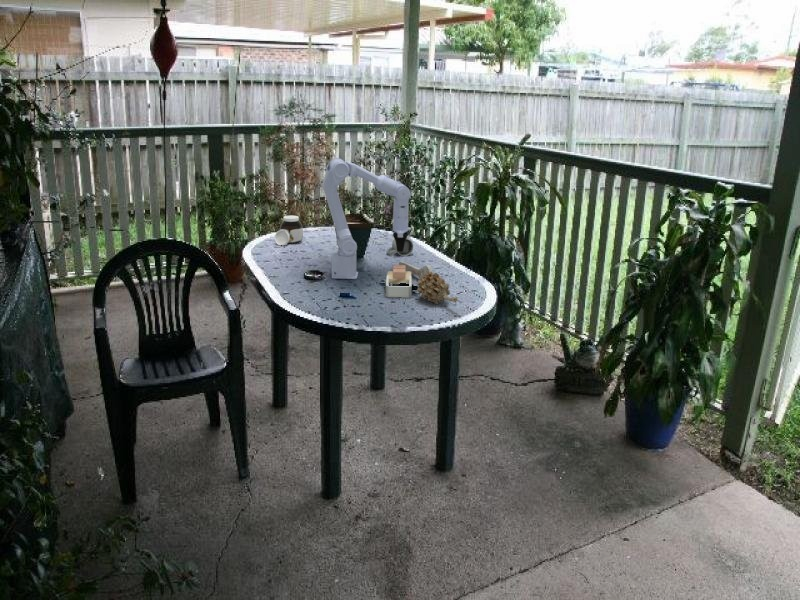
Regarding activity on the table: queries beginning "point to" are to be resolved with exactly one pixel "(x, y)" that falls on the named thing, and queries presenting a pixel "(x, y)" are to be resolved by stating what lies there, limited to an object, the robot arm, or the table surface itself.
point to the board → (398, 281)
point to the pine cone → (434, 288)
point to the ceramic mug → (406, 251)
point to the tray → (398, 289)
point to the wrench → (416, 269)
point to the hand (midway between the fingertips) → (400, 251)
